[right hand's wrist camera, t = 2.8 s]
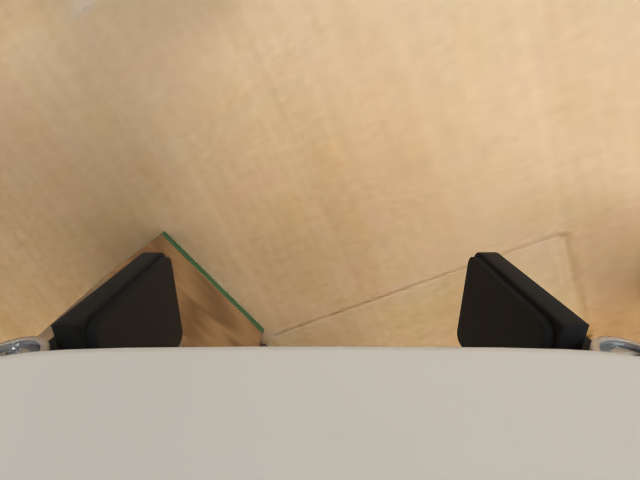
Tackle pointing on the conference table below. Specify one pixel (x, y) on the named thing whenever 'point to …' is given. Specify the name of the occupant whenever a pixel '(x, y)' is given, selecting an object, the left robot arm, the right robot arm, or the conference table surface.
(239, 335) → the cabinet
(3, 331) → the conference table surface
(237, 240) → the conference table surface
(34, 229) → the conference table surface
